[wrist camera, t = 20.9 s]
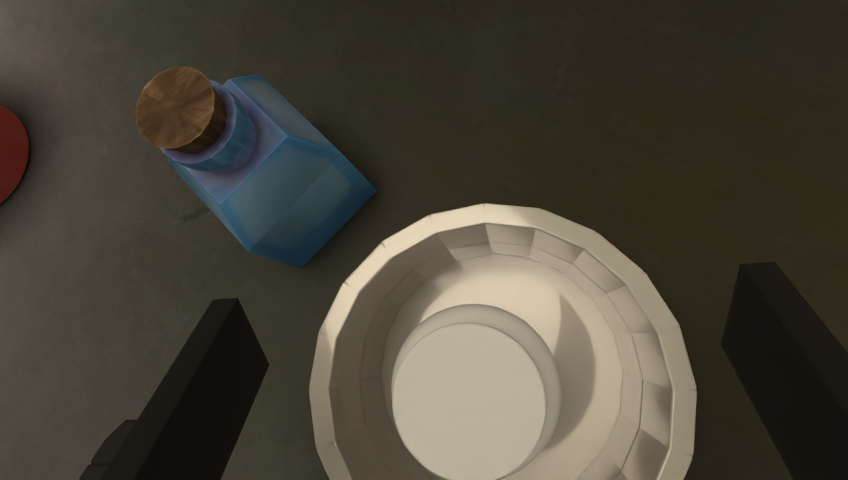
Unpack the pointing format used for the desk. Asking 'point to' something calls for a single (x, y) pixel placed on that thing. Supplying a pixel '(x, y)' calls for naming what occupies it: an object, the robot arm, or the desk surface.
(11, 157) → the flower pot
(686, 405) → the pot
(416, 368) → the pill bottle
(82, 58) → the desk surface
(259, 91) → the perfume bottle
